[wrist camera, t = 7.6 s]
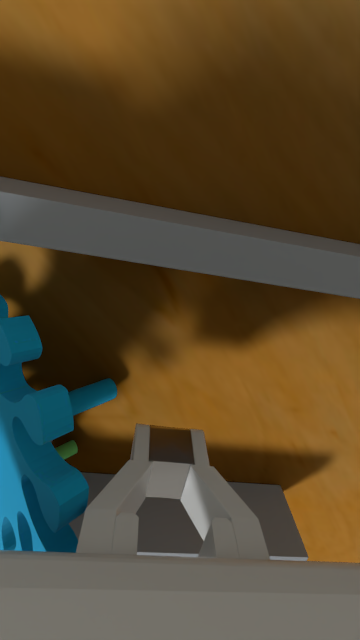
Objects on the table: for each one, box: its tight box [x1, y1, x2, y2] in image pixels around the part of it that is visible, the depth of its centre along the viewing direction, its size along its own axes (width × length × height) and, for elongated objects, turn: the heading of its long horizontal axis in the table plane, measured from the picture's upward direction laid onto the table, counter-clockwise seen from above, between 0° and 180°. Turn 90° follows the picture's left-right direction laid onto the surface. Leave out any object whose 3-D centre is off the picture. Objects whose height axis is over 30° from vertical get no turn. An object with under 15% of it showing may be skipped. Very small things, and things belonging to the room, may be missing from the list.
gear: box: [0, 295, 117, 553], centre depth 12 cm, size 11×6×10 cm
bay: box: [0, 177, 360, 561], centre depth 12 cm, size 24×16×5 cm
